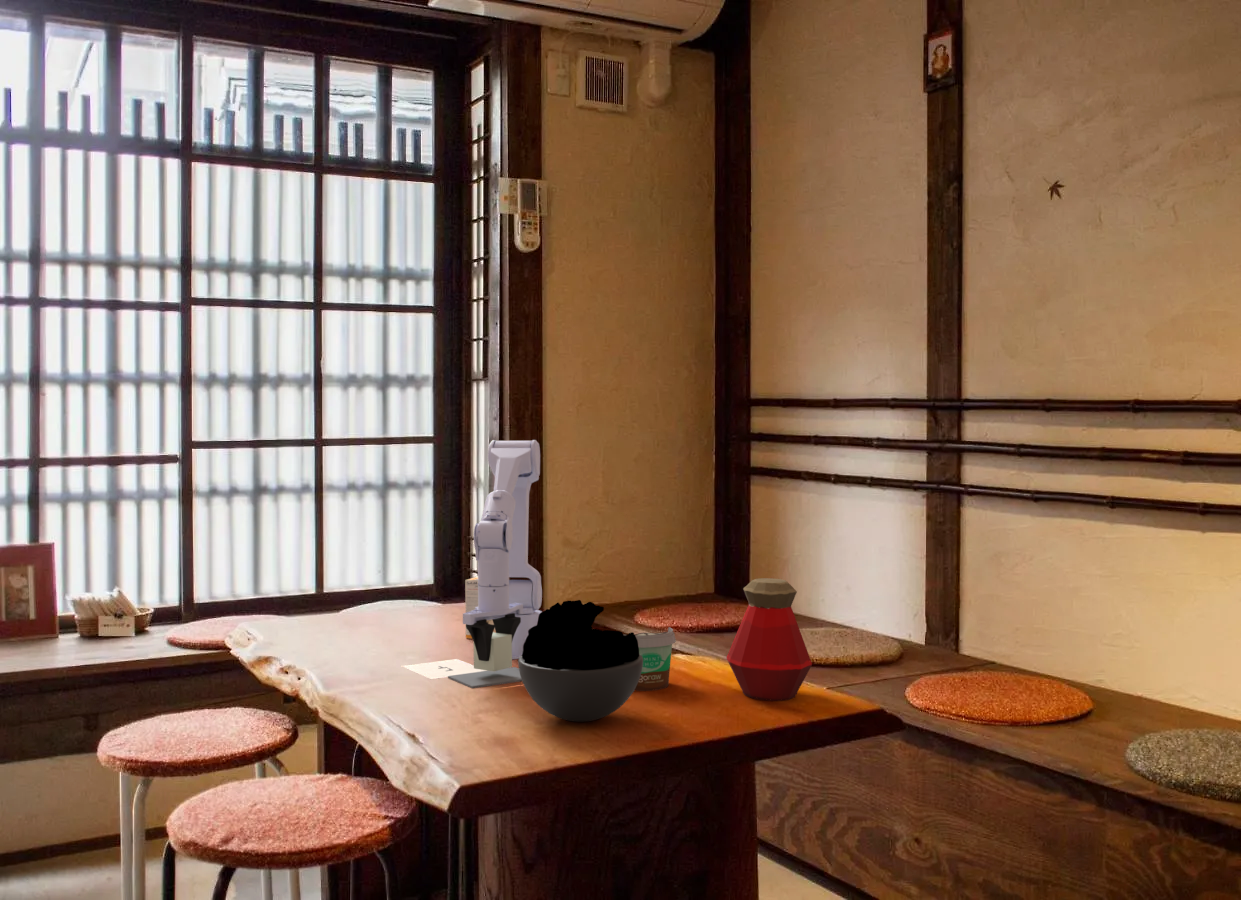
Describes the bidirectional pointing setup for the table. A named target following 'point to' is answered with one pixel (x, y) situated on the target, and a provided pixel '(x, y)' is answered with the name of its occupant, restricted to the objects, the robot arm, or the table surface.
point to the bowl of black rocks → (578, 663)
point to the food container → (655, 659)
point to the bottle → (769, 643)
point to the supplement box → (472, 599)
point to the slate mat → (488, 677)
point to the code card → (442, 668)
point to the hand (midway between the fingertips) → (494, 657)
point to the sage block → (496, 653)
